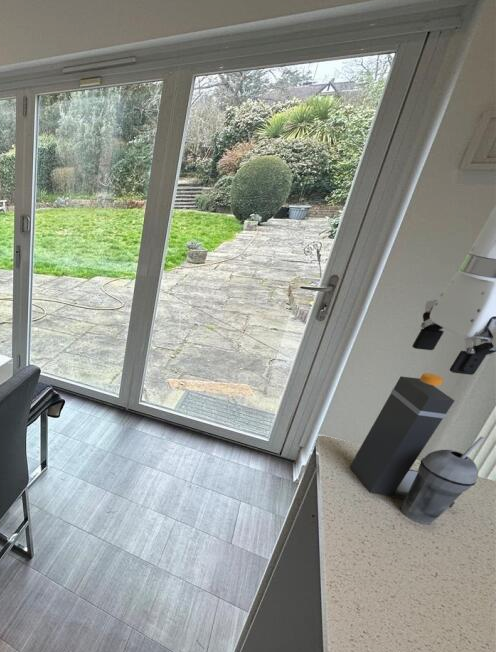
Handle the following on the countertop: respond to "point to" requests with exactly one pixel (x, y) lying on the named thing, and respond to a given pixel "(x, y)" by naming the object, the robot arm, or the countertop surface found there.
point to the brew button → (431, 379)
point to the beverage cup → (439, 483)
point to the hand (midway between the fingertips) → (440, 360)
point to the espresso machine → (400, 437)
